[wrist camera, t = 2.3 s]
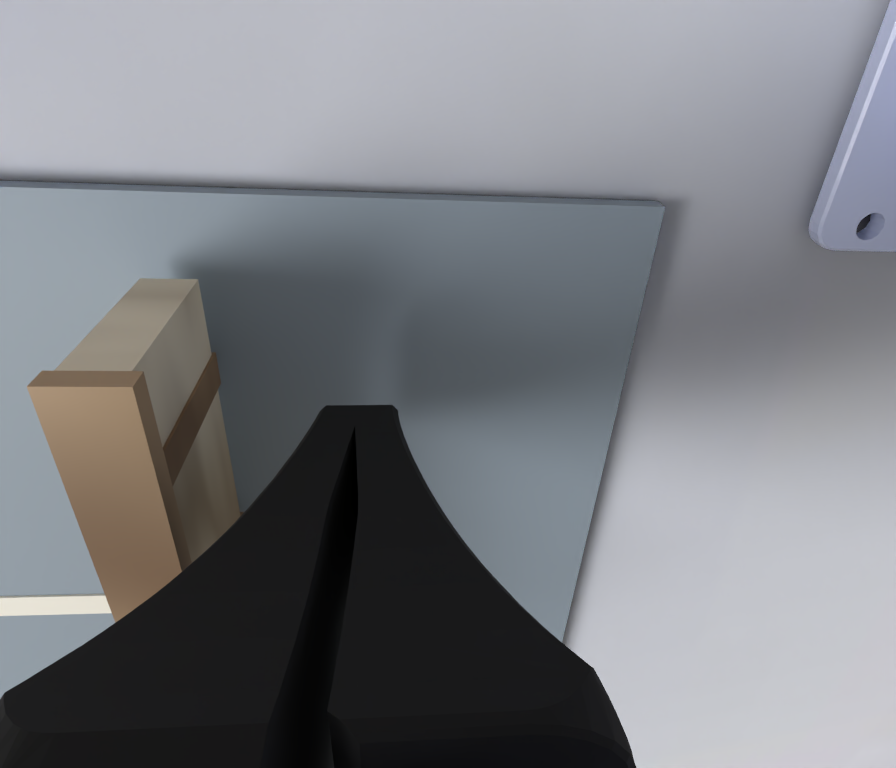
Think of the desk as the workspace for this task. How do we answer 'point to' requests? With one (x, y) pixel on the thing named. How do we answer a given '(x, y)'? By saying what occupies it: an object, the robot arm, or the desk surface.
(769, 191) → the desk surface
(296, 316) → the board
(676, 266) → the desk surface
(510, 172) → the desk surface
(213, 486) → the fence panel
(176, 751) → the robot arm
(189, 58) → the desk surface
